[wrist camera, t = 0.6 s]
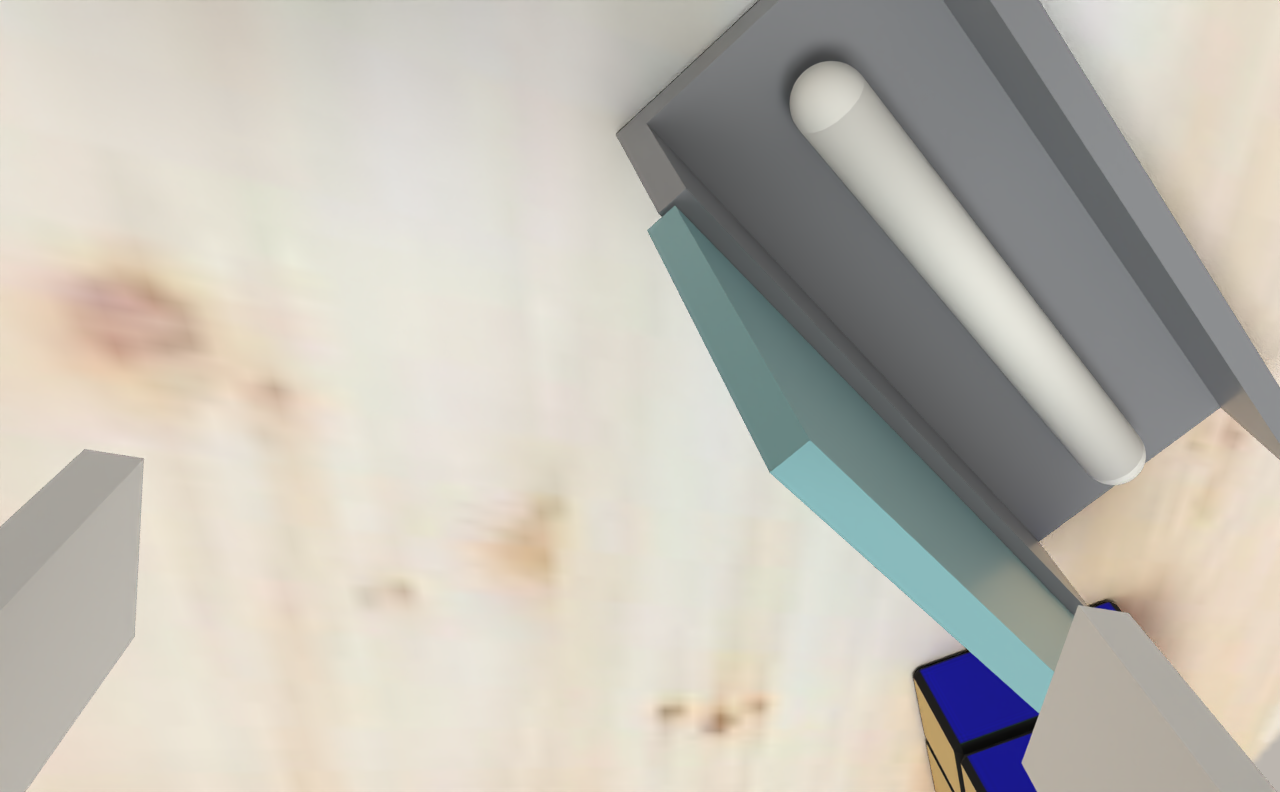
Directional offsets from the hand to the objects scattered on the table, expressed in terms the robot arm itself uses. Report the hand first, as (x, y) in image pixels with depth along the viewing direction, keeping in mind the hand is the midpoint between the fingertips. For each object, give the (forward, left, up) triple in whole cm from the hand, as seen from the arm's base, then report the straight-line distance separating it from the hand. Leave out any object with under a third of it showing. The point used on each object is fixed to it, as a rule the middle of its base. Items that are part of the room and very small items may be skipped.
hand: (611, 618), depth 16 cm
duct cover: (+11, +13, -11) cm, 20 cm away
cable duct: (+8, +17, -23) cm, 29 cm away
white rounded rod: (+8, +17, -21) cm, 29 cm away
